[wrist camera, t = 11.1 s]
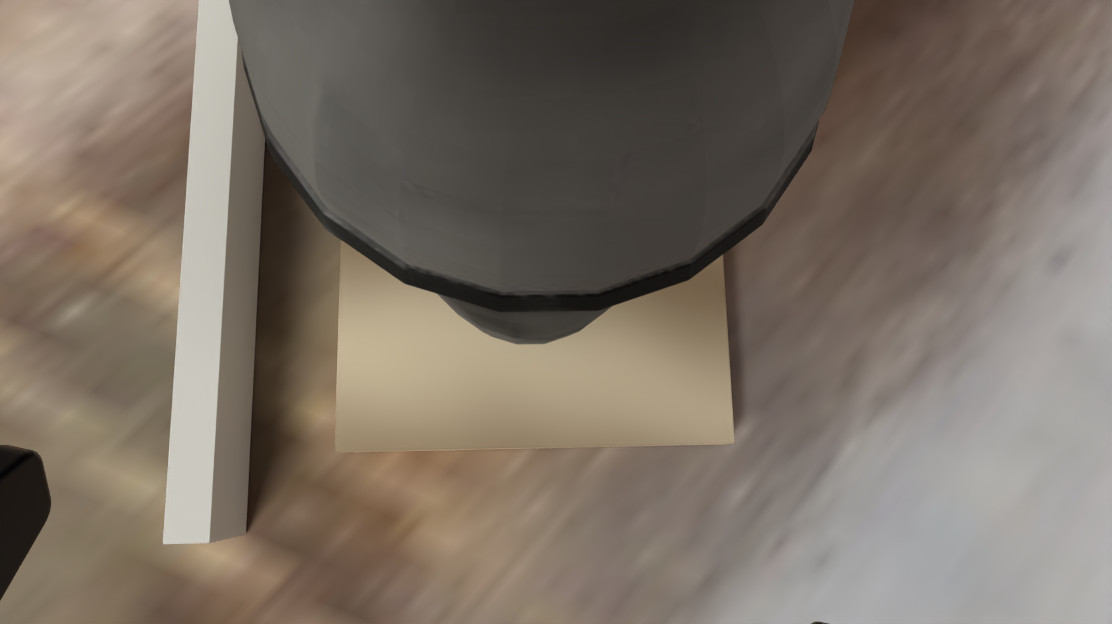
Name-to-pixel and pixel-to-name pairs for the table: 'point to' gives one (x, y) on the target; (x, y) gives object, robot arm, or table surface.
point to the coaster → (528, 372)
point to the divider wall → (216, 294)
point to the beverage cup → (540, 138)
